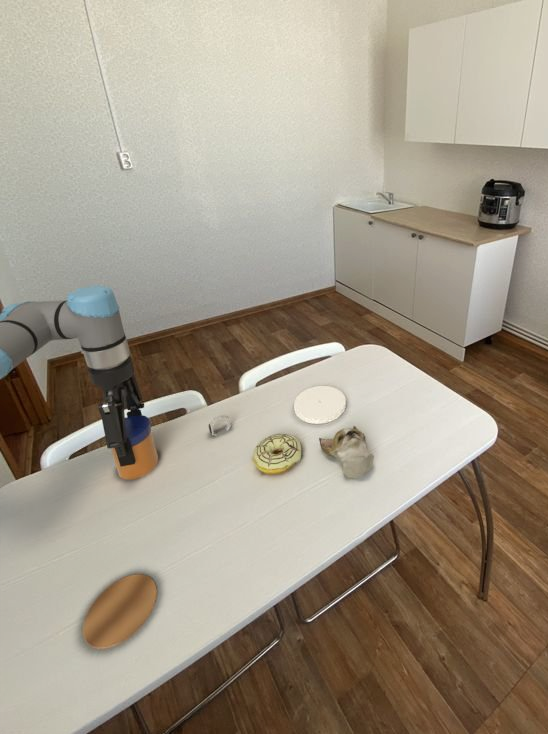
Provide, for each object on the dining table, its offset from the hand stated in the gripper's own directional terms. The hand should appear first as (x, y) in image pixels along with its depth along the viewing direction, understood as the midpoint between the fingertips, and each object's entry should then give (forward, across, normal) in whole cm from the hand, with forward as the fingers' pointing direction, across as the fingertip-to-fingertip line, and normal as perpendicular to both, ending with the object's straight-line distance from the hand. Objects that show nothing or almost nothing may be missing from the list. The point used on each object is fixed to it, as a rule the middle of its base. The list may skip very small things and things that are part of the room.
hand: (134, 448), depth 85 cm
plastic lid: (+6, -9, +43) cm, 44 cm away
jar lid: (-5, 0, 0) cm, 5 cm away
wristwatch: (+6, -6, +17) cm, 19 cm away
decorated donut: (+6, +6, +31) cm, 32 cm away
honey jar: (+5, 0, 0) cm, 5 cm away
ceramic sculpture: (+6, +11, +47) cm, 48 cm away
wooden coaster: (+5, +31, +5) cm, 32 cm away
